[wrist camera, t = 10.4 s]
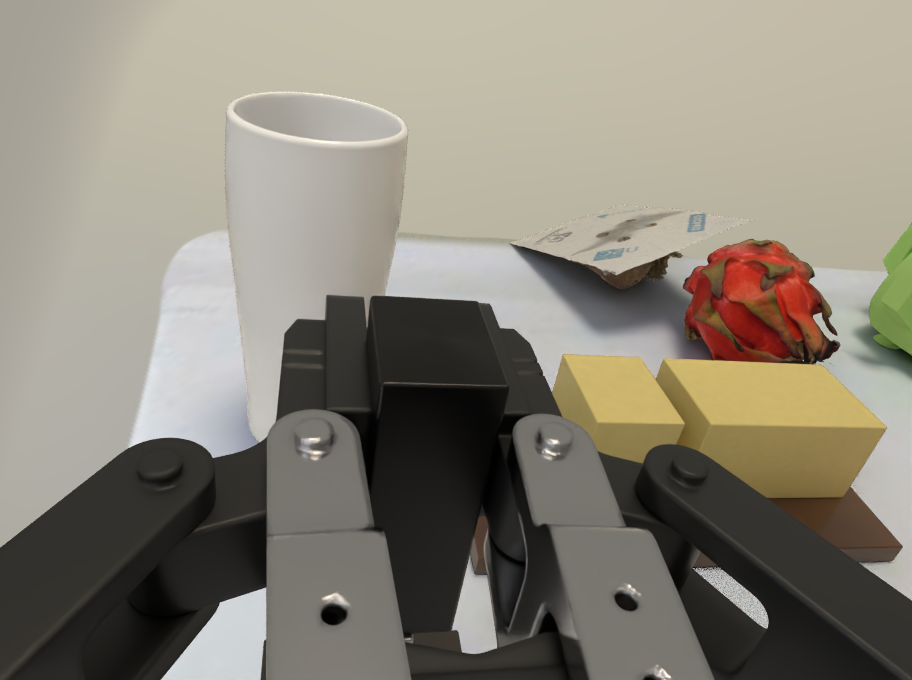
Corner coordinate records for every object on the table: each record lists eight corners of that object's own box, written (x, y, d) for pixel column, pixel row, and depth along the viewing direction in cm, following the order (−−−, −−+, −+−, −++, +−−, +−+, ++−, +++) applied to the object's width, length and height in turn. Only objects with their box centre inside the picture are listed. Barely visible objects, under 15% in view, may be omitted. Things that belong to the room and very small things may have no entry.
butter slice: (614, 428, 35) (640, 356, 33) (653, 499, 31) (686, 423, 29) (541, 427, 34) (562, 353, 32) (570, 500, 30) (597, 421, 28)
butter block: (786, 431, 37) (822, 364, 35) (843, 498, 33) (888, 427, 31) (636, 428, 35) (663, 357, 33) (676, 499, 31) (711, 424, 29)
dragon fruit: (699, 326, 52) (762, 448, 42) (636, 262, 47) (692, 384, 38) (803, 258, 48) (897, 376, 39) (745, 182, 44) (835, 296, 35)
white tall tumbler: (233, 483, 29) (224, 136, 21) (230, 388, 34) (222, 83, 27) (387, 469, 31) (431, 150, 23) (361, 382, 37) (390, 98, 29)
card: (630, 254, 61) (622, 201, 59) (762, 284, 47) (756, 215, 46) (520, 297, 58) (507, 241, 56) (627, 341, 44) (615, 270, 42)
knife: (394, 729, 18) (478, 296, 11) (403, 839, 16) (513, 391, 9) (327, 734, 18) (369, 290, 11) (327, 848, 16) (380, 388, 9)
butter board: (766, 411, 40) (772, 398, 40) (893, 561, 31) (903, 546, 31) (437, 403, 36) (440, 388, 36) (474, 574, 27) (478, 557, 27)
